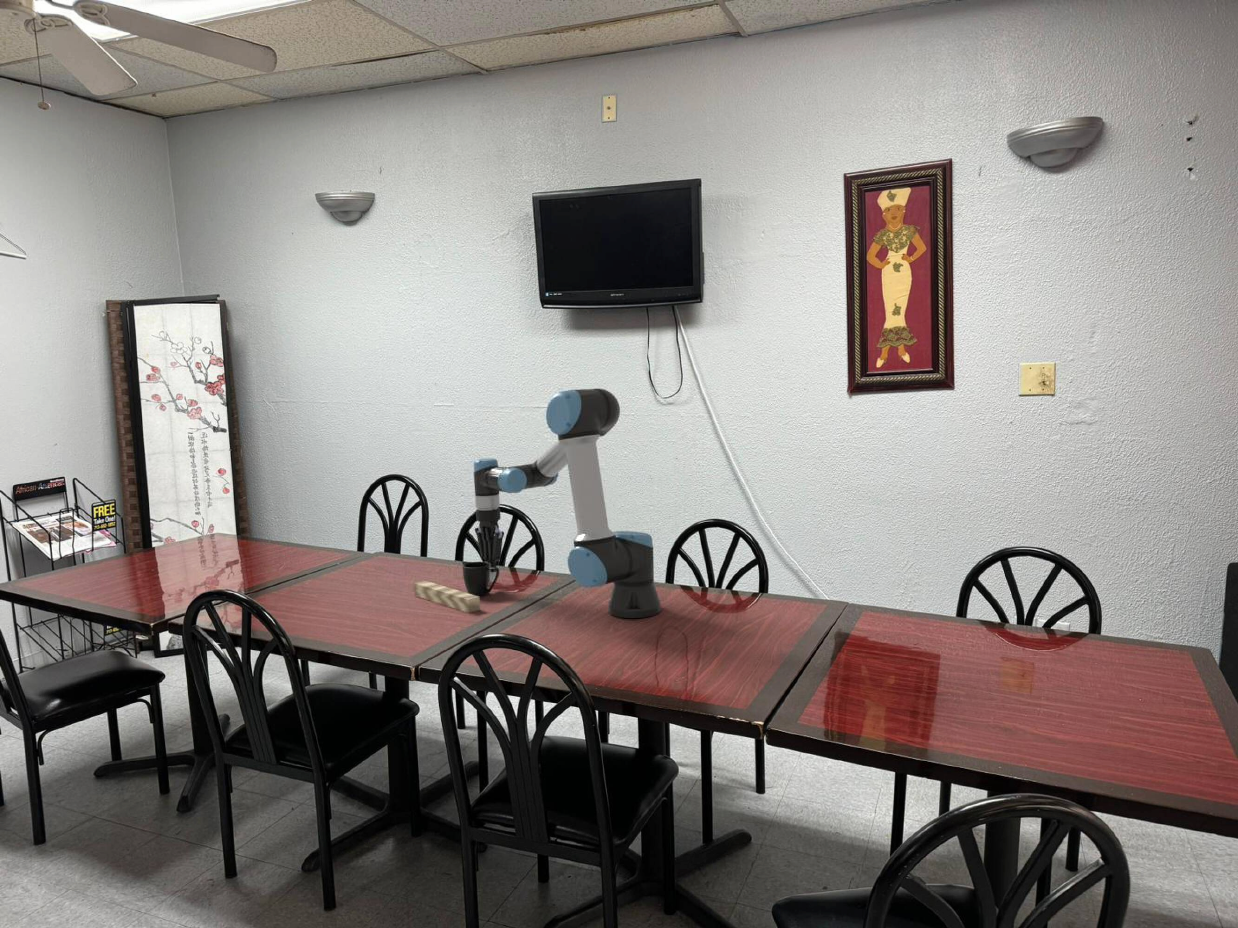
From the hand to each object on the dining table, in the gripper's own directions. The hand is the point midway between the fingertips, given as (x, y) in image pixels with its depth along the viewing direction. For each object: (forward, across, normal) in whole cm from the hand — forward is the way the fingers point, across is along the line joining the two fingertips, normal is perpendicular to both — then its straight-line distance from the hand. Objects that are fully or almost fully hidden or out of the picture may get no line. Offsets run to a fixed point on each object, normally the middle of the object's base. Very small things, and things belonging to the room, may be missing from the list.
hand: (491, 581), depth 280 cm
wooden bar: (+3, 0, +17) cm, 17 cm away
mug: (+3, -2, +5) cm, 6 cm away
